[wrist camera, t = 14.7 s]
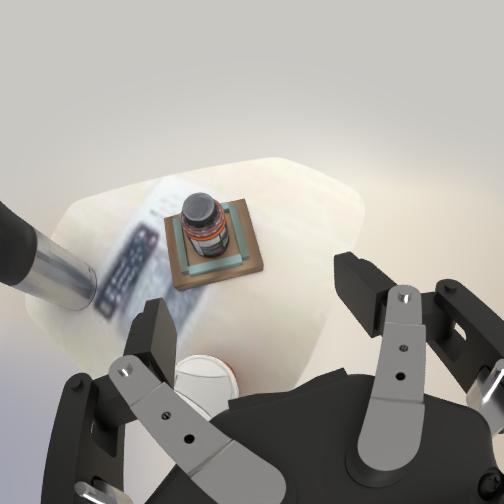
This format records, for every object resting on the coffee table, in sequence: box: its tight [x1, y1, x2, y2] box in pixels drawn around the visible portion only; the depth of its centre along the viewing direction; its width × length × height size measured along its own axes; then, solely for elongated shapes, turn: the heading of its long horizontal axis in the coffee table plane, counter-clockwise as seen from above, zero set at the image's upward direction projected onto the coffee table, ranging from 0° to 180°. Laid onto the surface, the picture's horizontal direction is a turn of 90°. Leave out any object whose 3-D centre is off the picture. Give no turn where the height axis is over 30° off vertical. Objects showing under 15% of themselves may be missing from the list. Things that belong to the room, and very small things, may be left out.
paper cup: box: [174, 355, 239, 421], centre depth 32 cm, size 8×8×14 cm
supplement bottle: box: [180, 193, 229, 258], centre depth 38 cm, size 6×6×11 cm
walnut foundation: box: [164, 199, 263, 291], centre depth 44 cm, size 14×12×4 cm
